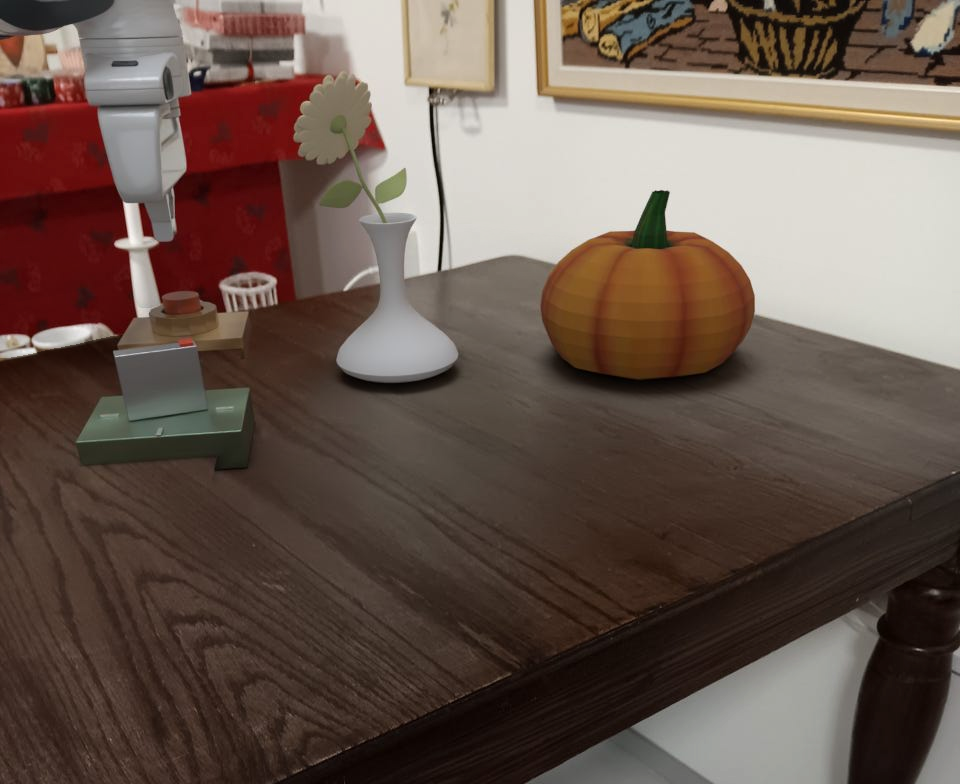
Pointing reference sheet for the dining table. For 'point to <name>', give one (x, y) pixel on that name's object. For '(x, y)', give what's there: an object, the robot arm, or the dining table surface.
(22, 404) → the dining table surface
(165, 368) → the grey panel
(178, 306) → the button
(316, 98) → the flower in vase
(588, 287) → the pumpkin
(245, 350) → the button block
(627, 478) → the dining table surface
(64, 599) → the dining table surface
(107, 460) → the panel
